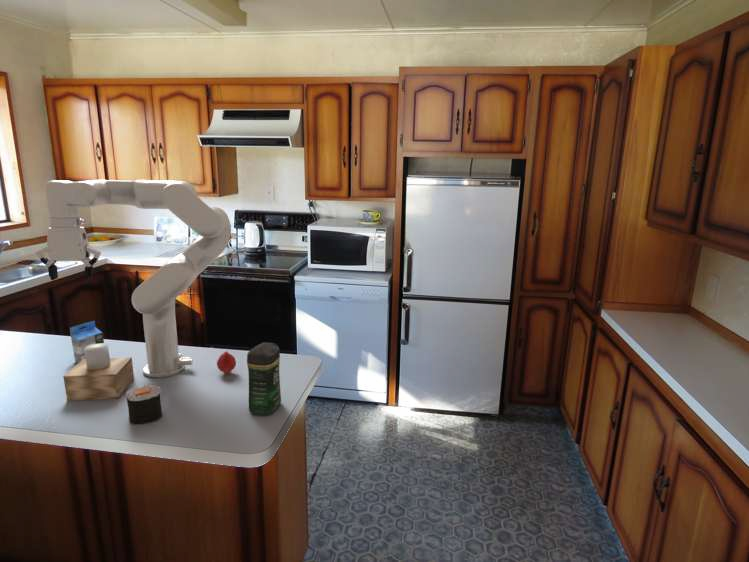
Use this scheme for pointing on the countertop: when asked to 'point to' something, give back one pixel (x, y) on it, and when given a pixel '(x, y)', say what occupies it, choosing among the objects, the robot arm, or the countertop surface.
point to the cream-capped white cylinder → (97, 356)
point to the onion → (226, 362)
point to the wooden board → (111, 370)
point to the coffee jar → (264, 378)
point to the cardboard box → (99, 386)
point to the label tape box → (84, 338)
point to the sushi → (144, 404)
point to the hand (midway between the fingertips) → (72, 278)
